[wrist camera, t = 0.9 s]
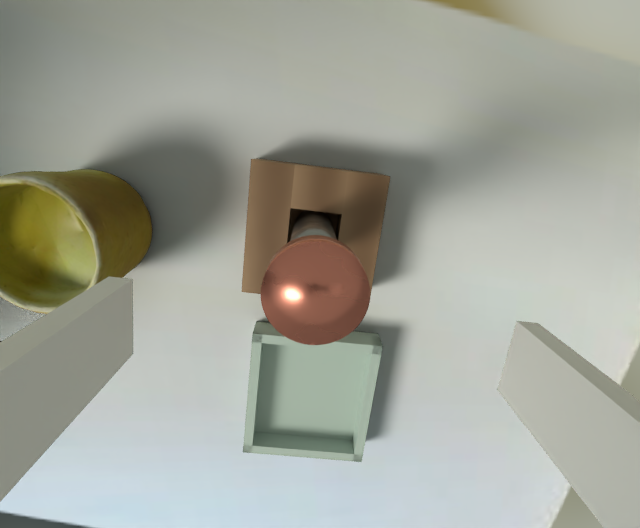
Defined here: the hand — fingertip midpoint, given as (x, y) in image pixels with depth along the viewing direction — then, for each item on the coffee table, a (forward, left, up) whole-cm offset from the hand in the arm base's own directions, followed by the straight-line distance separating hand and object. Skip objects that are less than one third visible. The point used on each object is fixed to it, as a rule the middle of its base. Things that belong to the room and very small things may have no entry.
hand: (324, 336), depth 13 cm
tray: (+1, -15, -20) cm, 25 cm away
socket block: (0, 0, -20) cm, 20 cm away
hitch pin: (0, 0, -19) cm, 19 cm away
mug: (-19, -2, -20) cm, 28 cm away
